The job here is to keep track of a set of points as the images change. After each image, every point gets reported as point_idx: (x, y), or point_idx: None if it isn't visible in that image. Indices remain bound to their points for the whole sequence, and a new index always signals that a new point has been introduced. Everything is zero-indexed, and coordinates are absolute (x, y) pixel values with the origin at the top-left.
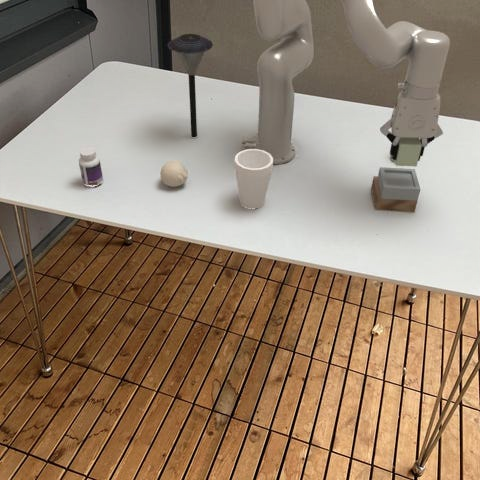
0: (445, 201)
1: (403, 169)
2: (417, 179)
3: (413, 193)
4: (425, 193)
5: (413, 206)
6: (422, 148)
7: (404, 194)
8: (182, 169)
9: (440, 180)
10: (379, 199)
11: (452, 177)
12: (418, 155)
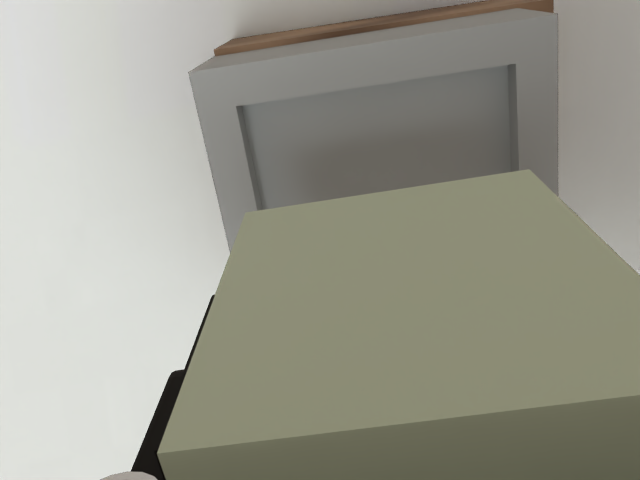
0: (45, 217)
1: None
2: (228, 229)
3: (252, 56)
4: (176, 271)
5: (242, 41)
6: (161, 432)
7: (331, 41)
8: None
9: (103, 411)
10: (530, 2)
11: (41, 449)
12: (229, 293)
